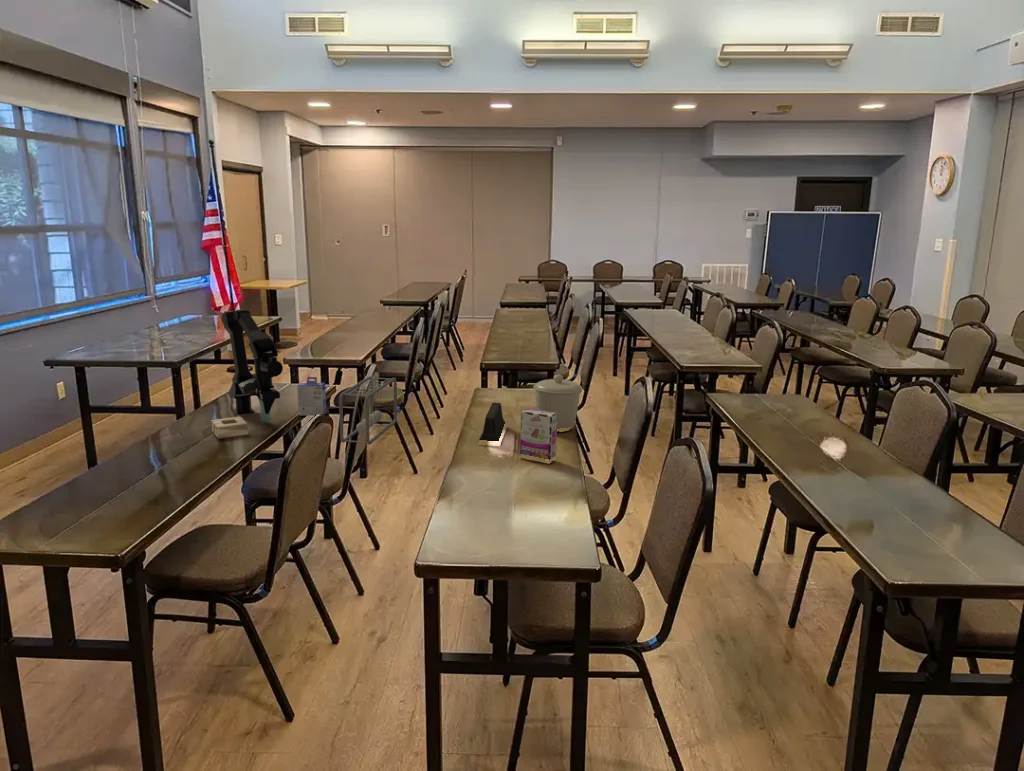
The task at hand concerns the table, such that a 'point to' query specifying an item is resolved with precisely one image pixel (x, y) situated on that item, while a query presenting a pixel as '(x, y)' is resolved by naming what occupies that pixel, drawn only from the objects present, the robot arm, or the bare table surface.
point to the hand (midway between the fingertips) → (265, 412)
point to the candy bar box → (538, 433)
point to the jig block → (229, 427)
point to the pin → (264, 416)
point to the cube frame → (375, 415)
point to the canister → (559, 399)
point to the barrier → (493, 423)
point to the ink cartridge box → (311, 398)
